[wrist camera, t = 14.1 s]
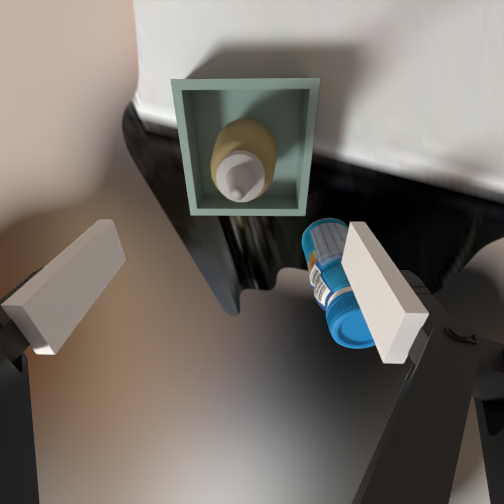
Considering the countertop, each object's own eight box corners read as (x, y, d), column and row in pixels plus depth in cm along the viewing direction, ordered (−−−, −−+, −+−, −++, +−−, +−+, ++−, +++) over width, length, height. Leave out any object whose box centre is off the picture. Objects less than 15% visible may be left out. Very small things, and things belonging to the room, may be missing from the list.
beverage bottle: (332, 205, 42) (378, 288, 25) (360, 239, 45) (417, 333, 28) (290, 236, 45) (307, 328, 29) (319, 266, 49) (349, 363, 32)
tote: (184, 79, 33) (170, 79, 28) (311, 78, 33) (320, 77, 28) (199, 199, 42) (190, 215, 37) (299, 199, 42) (305, 215, 37)
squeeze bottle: (222, 108, 34) (191, 130, 19) (282, 121, 35) (299, 153, 20) (215, 170, 38) (185, 227, 23) (269, 180, 39) (274, 243, 24)
